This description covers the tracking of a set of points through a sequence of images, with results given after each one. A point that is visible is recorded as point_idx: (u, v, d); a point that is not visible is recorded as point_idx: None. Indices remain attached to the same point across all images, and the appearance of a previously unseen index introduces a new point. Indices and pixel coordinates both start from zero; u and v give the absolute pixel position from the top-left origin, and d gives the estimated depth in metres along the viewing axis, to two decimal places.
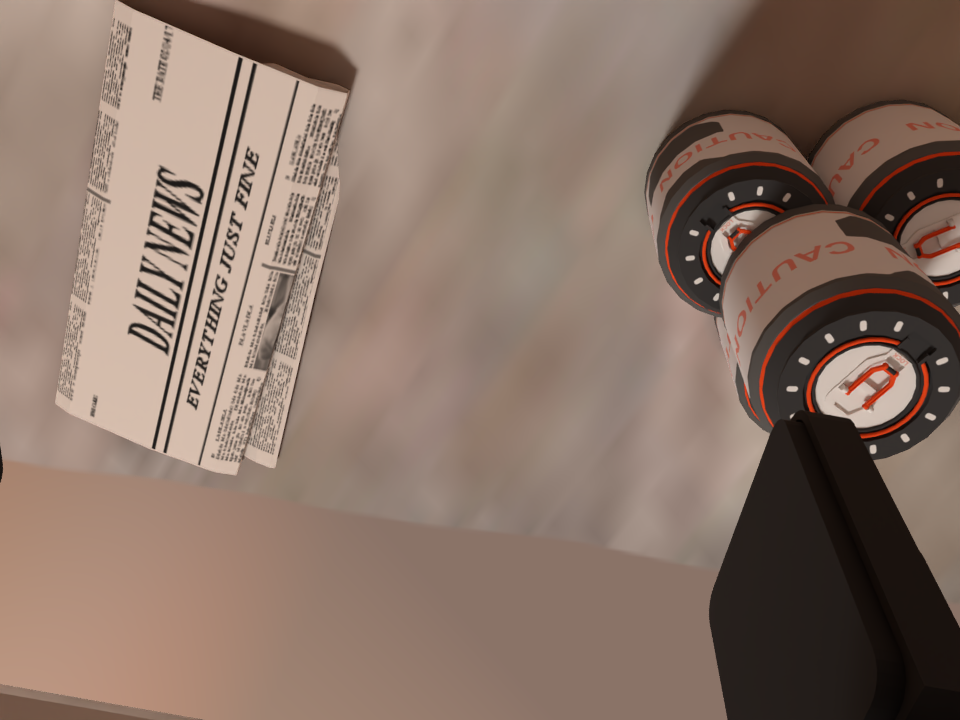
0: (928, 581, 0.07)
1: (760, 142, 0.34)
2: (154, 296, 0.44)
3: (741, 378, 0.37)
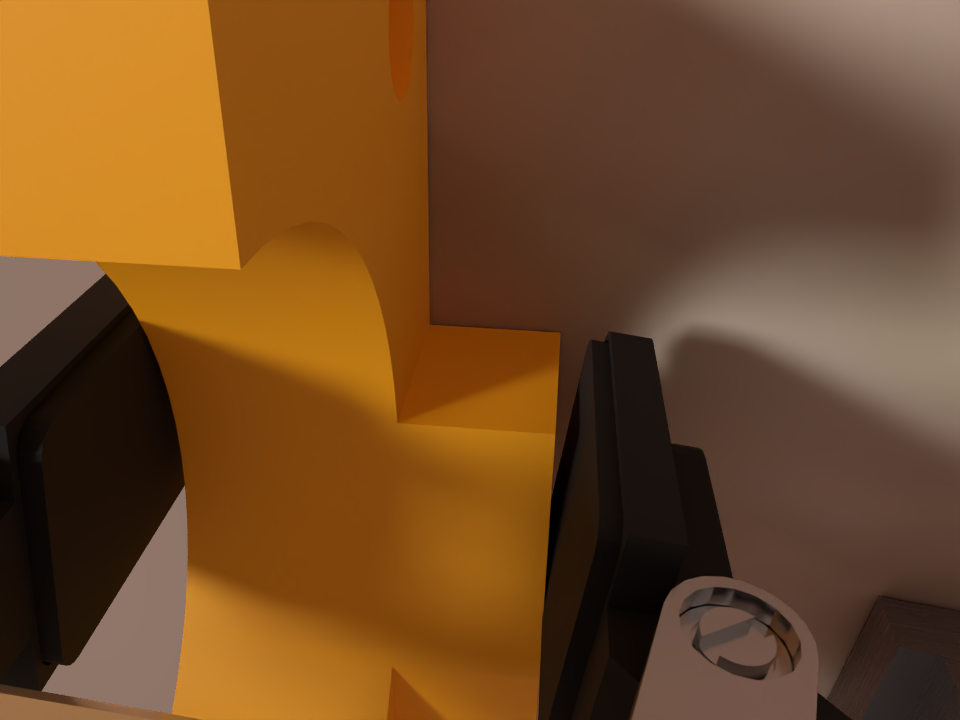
0: (667, 460, 0.08)
1: None
2: None
3: None
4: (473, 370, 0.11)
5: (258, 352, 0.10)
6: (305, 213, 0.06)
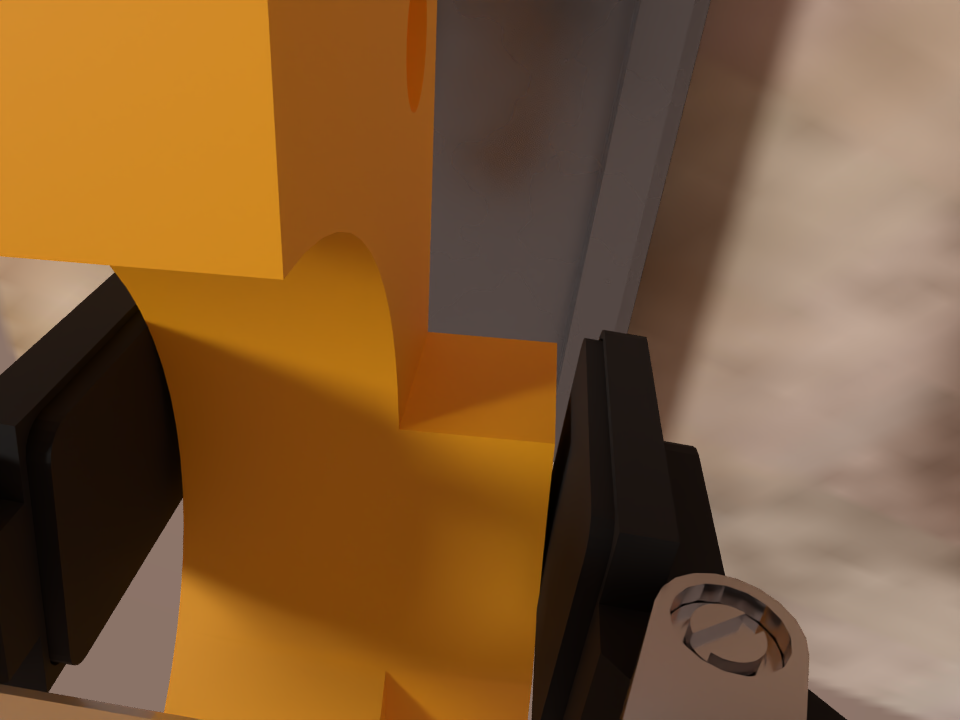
0: (659, 458, 0.08)
1: None
2: None
3: None
4: (472, 378, 0.11)
5: (264, 356, 0.10)
6: (335, 223, 0.06)
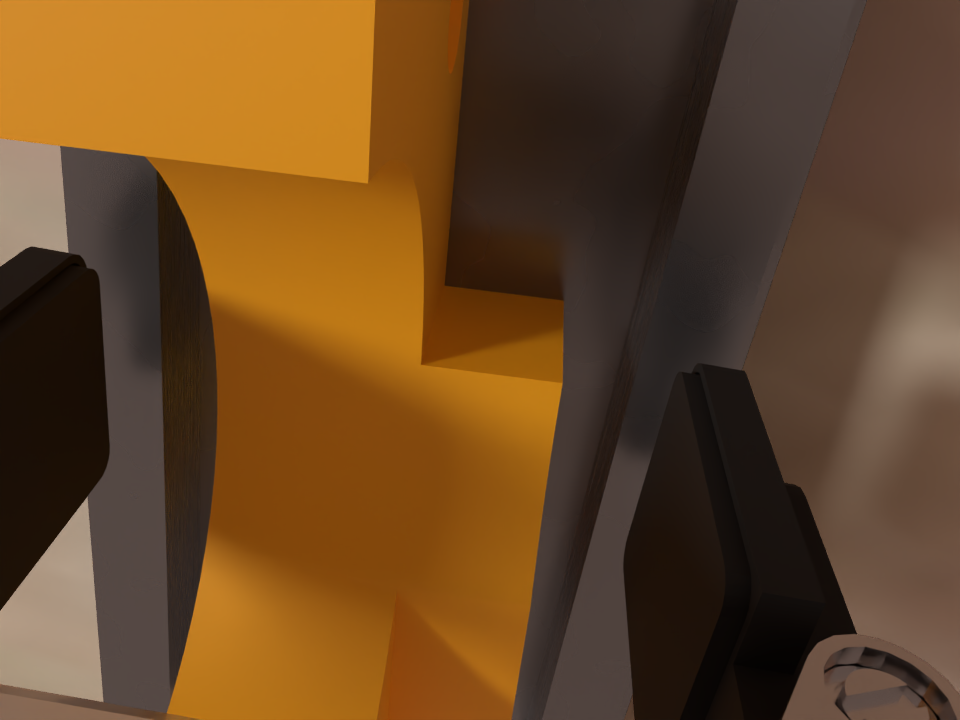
0: (786, 507, 0.08)
1: None
2: None
3: None
4: (486, 326, 0.12)
5: (303, 289, 0.11)
6: (398, 150, 0.07)
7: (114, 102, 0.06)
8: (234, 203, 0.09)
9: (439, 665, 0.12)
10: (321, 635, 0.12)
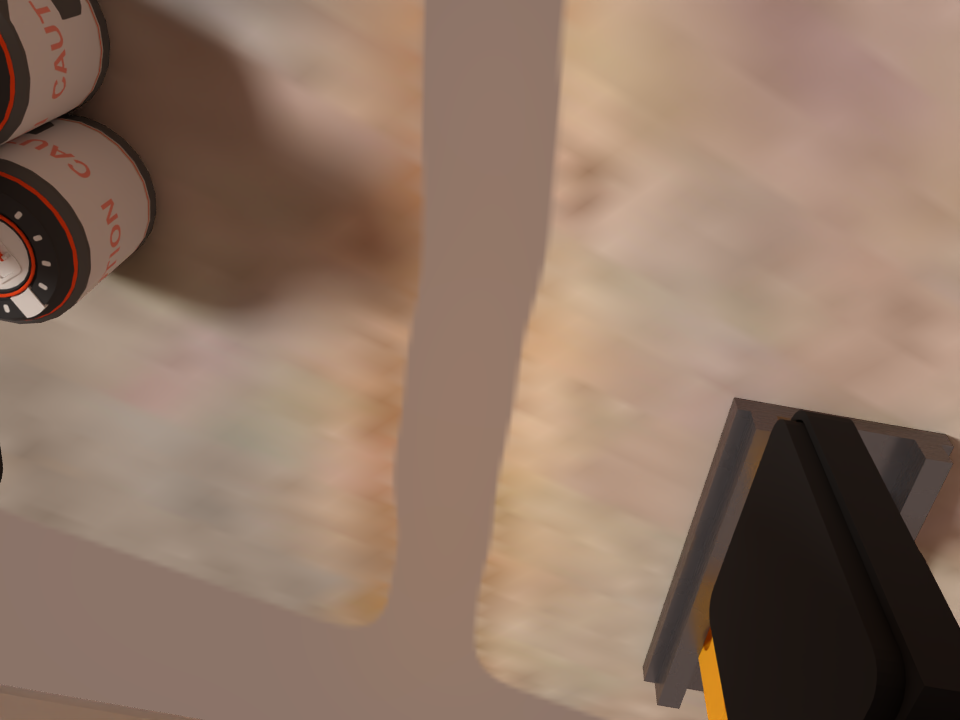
0: (928, 581, 0.07)
1: (46, 59, 0.32)
2: None
3: None
4: None
5: None
6: None
7: None
8: None
9: None
10: None
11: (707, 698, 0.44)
